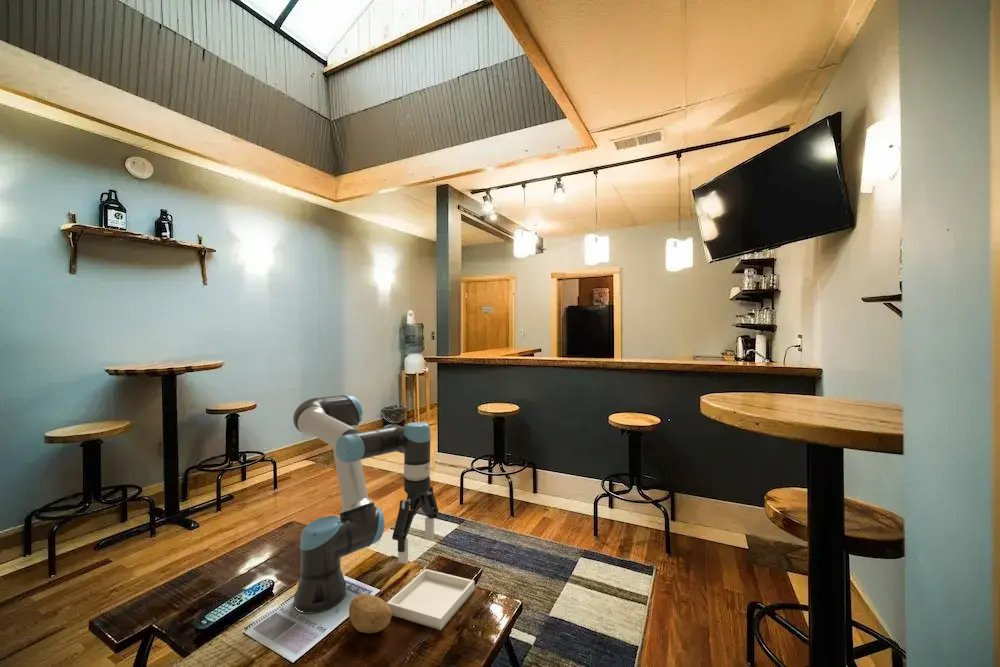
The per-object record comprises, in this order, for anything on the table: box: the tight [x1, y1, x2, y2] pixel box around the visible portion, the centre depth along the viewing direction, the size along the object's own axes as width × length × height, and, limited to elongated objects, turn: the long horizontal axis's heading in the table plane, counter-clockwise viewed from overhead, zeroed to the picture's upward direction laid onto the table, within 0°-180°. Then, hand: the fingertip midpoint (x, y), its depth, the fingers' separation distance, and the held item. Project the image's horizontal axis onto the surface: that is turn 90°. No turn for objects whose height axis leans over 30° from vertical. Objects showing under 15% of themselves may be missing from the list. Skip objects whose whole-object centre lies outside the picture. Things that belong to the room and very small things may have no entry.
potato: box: [348, 592, 392, 634], centre depth 110 cm, size 10×14×8 cm
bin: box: [386, 568, 476, 631], centre depth 122 cm, size 19×20×3 cm
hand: (417, 550), depth 114 cm, fingers open, 13 cm apart
